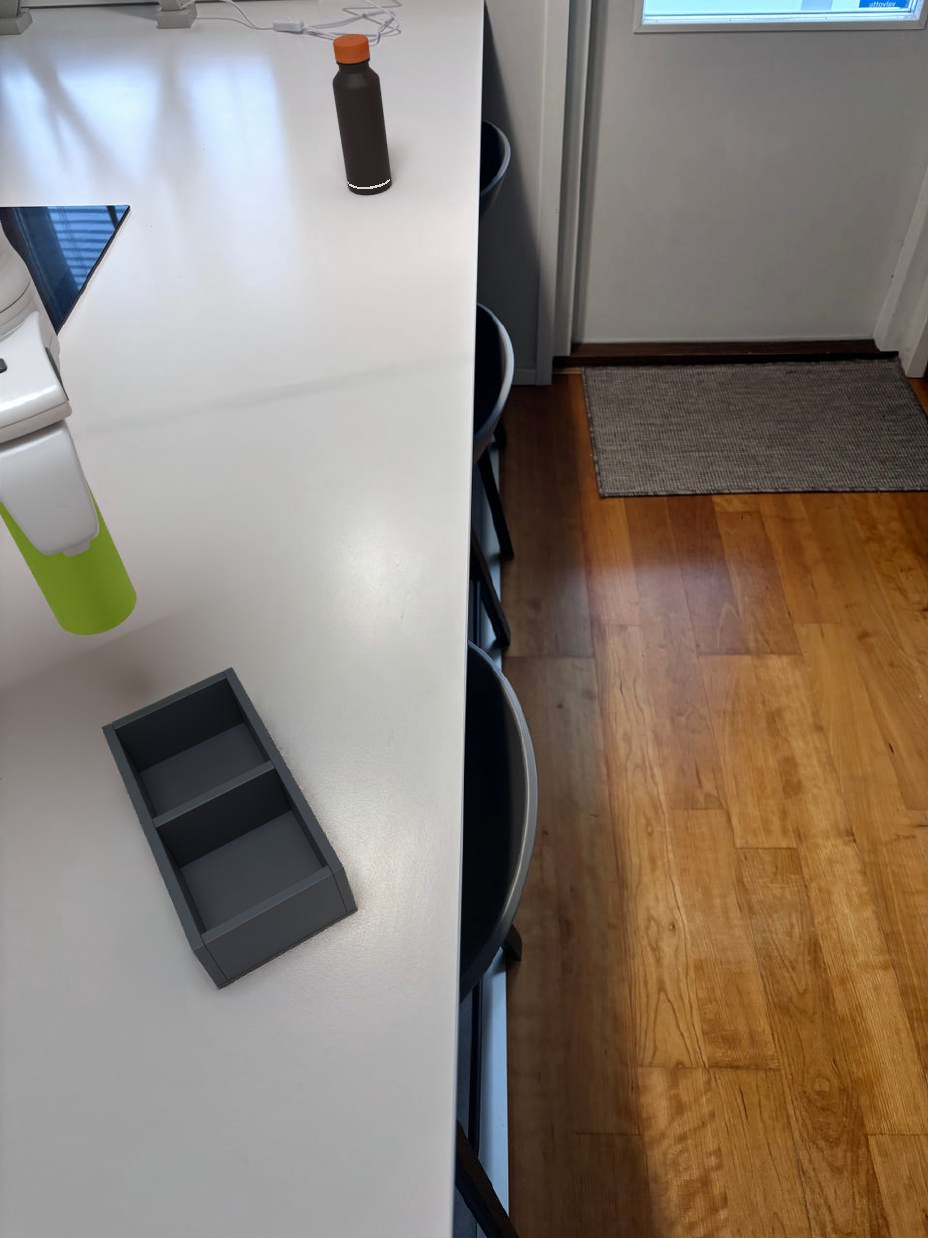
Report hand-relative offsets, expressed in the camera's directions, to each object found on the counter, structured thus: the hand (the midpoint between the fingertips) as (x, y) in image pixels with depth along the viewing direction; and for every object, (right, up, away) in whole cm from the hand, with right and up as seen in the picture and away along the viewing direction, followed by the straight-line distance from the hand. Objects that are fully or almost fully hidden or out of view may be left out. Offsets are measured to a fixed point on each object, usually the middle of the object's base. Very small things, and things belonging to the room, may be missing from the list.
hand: (62, 517), depth 65 cm
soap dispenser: (0, -6, +6) cm, 9 cm away
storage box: (+10, -24, +7) cm, 27 cm away
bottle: (+13, +59, +80) cm, 101 cm away
